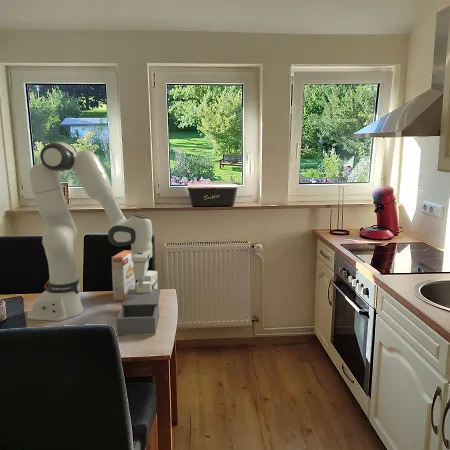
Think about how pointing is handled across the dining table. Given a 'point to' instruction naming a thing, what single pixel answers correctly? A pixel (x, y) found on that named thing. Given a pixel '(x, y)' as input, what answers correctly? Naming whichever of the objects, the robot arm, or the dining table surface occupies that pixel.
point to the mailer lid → (142, 296)
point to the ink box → (152, 279)
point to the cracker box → (122, 275)
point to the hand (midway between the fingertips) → (142, 283)
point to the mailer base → (138, 320)
